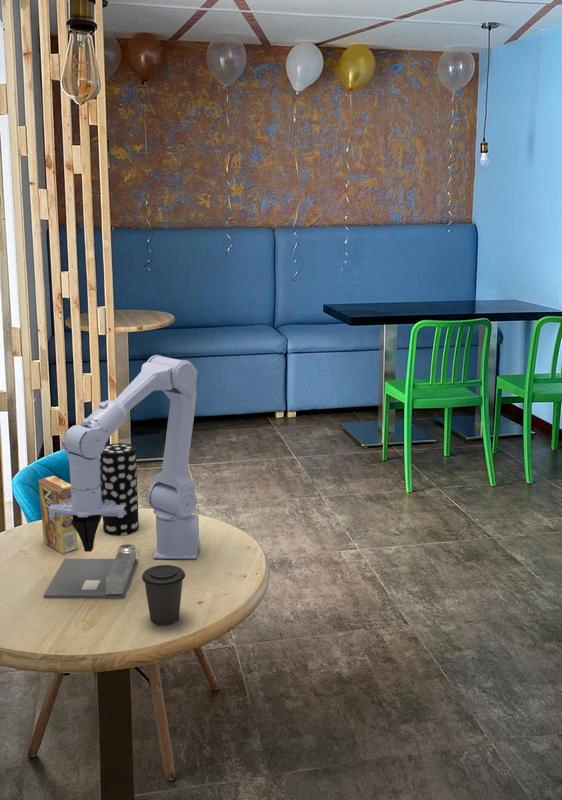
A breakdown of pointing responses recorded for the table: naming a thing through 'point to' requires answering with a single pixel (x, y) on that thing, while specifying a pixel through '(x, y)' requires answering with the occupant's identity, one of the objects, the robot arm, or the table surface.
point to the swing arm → (121, 569)
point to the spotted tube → (120, 487)
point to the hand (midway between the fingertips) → (89, 549)
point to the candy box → (59, 527)
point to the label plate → (84, 579)
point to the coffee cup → (163, 593)
